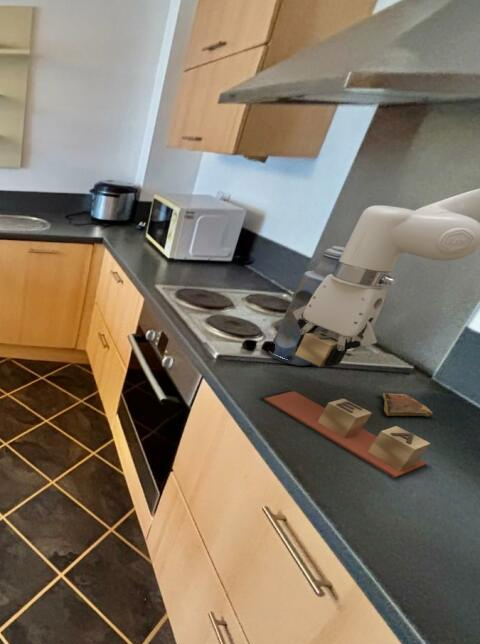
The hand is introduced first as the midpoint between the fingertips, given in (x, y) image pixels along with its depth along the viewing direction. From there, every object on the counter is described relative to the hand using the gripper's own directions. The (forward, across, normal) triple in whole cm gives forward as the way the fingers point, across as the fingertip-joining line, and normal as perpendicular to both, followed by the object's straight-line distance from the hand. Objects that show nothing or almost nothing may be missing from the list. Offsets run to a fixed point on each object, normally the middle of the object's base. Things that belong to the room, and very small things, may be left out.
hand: (315, 357), depth 86 cm
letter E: (+11, -9, 0) cm, 15 cm away
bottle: (+12, +15, -22) cm, 29 cm away
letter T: (0, 0, 0) cm, 0 cm away
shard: (+12, -10, -23) cm, 28 cm away
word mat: (+12, -9, 0) cm, 15 cm away
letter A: (+11, -18, 0) cm, 21 cm away
